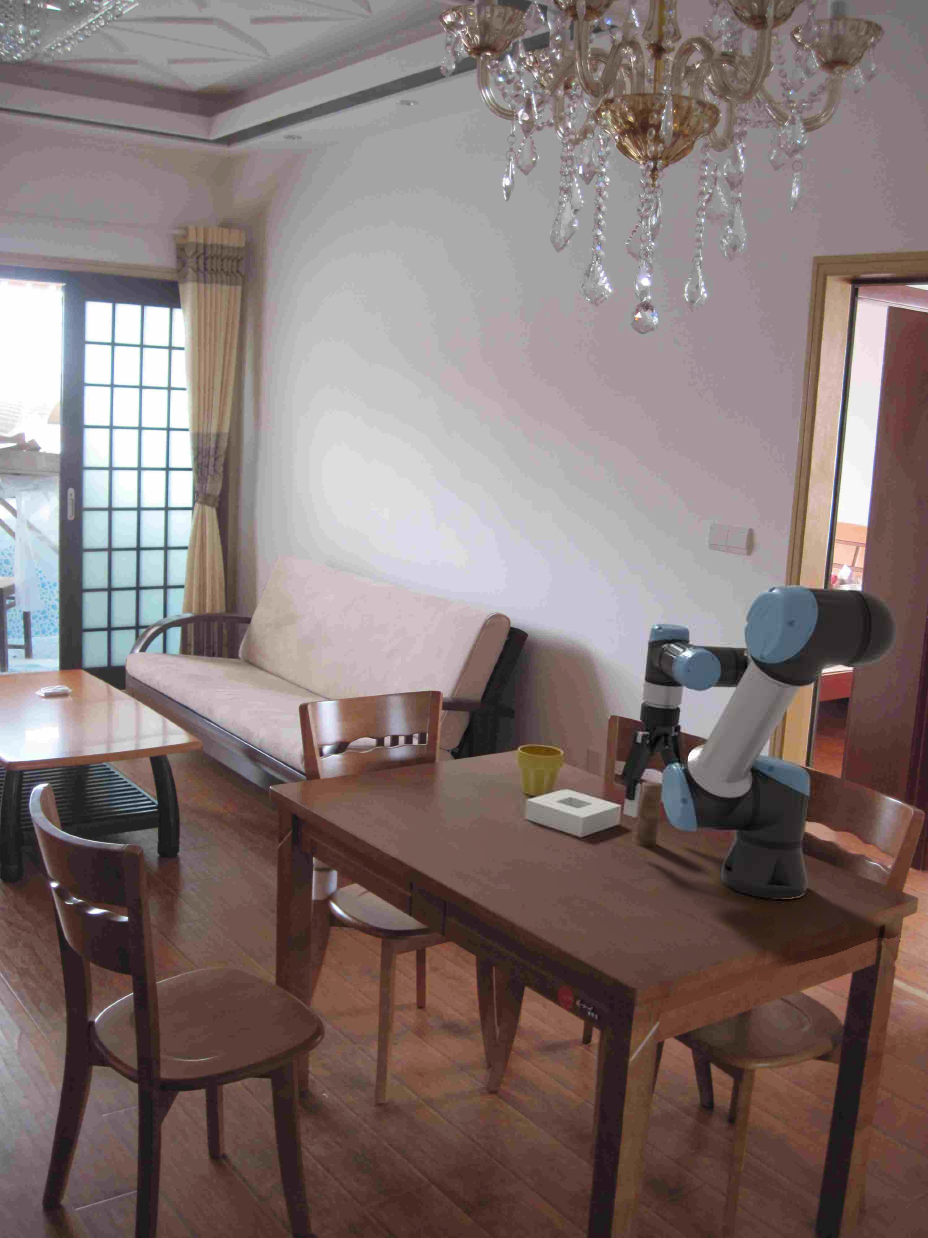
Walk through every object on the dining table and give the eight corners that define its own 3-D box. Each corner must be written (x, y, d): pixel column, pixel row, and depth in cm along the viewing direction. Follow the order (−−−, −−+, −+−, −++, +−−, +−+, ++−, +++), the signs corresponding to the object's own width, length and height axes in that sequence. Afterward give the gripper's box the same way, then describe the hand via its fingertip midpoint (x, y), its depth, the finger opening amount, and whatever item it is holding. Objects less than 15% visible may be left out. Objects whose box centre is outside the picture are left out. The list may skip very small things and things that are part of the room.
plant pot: (505, 787, 258) (509, 744, 257) (545, 785, 262) (550, 743, 261) (527, 800, 249) (531, 757, 247) (568, 798, 253) (573, 755, 252)
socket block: (619, 824, 238) (621, 805, 237) (580, 837, 227) (583, 817, 227) (563, 806, 247) (565, 788, 246) (524, 818, 236) (526, 799, 235)
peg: (659, 844, 227) (666, 785, 226) (649, 848, 224) (655, 788, 222) (642, 838, 230) (648, 780, 228) (631, 842, 227) (638, 783, 225)
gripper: (676, 693, 235) (664, 792, 238) (609, 707, 216) (597, 815, 219) (709, 700, 230) (696, 802, 233) (644, 716, 211) (631, 826, 214)
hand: (648, 809), depth 226 cm, fingers open, 13 cm apart
